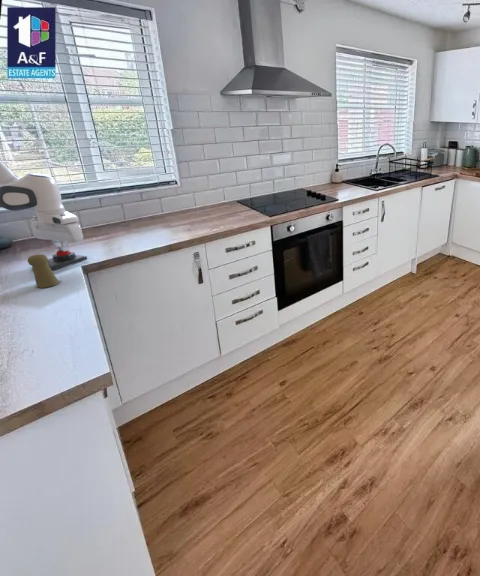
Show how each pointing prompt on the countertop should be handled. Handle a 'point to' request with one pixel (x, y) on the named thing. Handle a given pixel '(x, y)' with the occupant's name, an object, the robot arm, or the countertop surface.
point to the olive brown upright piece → (42, 271)
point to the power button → (62, 253)
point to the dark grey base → (64, 260)
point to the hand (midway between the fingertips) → (62, 250)
